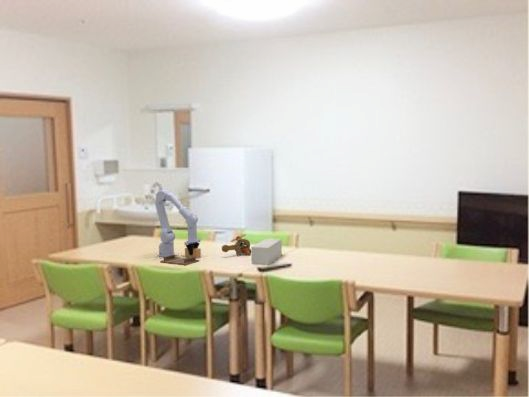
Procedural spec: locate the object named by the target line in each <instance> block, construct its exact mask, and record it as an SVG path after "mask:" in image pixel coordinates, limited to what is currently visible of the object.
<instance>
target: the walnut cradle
mask: <svg viewBox="0 0 529 397" xmlns="http://www.w3.org/2000/svg"><path fill="white" fill-rule="evenodd" d="M175 255H176V254H175ZM175 255H170V256H167V257H163V260H160V261H159V263H162V264H169V265H178V266H185V267H186V266H189V265H191V264H194V263H198V262H200V259H196V257H192V258H187V257H184V258H183V257H177V256H175Z"/></svg>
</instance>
